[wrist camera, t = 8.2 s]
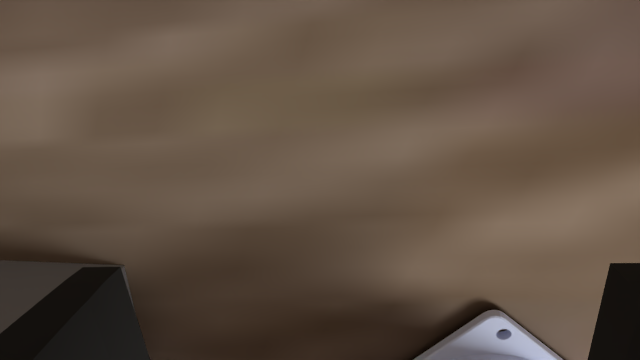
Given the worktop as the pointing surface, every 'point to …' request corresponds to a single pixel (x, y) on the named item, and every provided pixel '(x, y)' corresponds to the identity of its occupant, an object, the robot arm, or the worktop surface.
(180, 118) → the worktop surface
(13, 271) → the charcoal plinth
